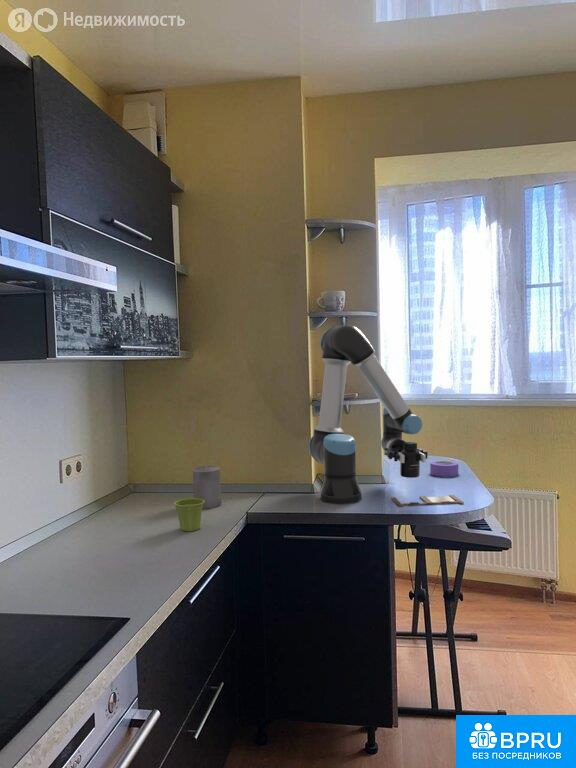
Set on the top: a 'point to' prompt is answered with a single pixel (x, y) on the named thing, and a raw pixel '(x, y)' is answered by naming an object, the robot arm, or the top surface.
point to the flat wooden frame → (431, 501)
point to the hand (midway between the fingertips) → (413, 459)
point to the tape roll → (444, 468)
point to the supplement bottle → (410, 461)
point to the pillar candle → (207, 485)
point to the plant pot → (189, 513)
